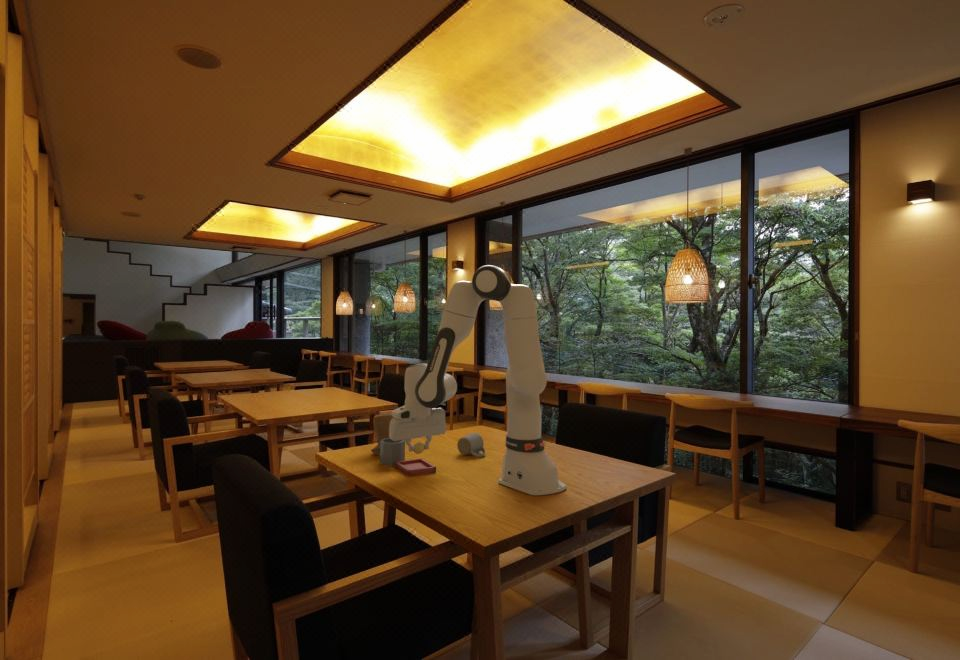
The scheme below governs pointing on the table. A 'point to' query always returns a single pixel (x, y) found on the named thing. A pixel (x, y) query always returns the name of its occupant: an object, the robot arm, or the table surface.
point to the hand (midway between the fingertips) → (418, 450)
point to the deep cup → (391, 451)
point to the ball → (418, 447)
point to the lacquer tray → (415, 467)
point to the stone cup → (381, 429)
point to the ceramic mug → (471, 445)
